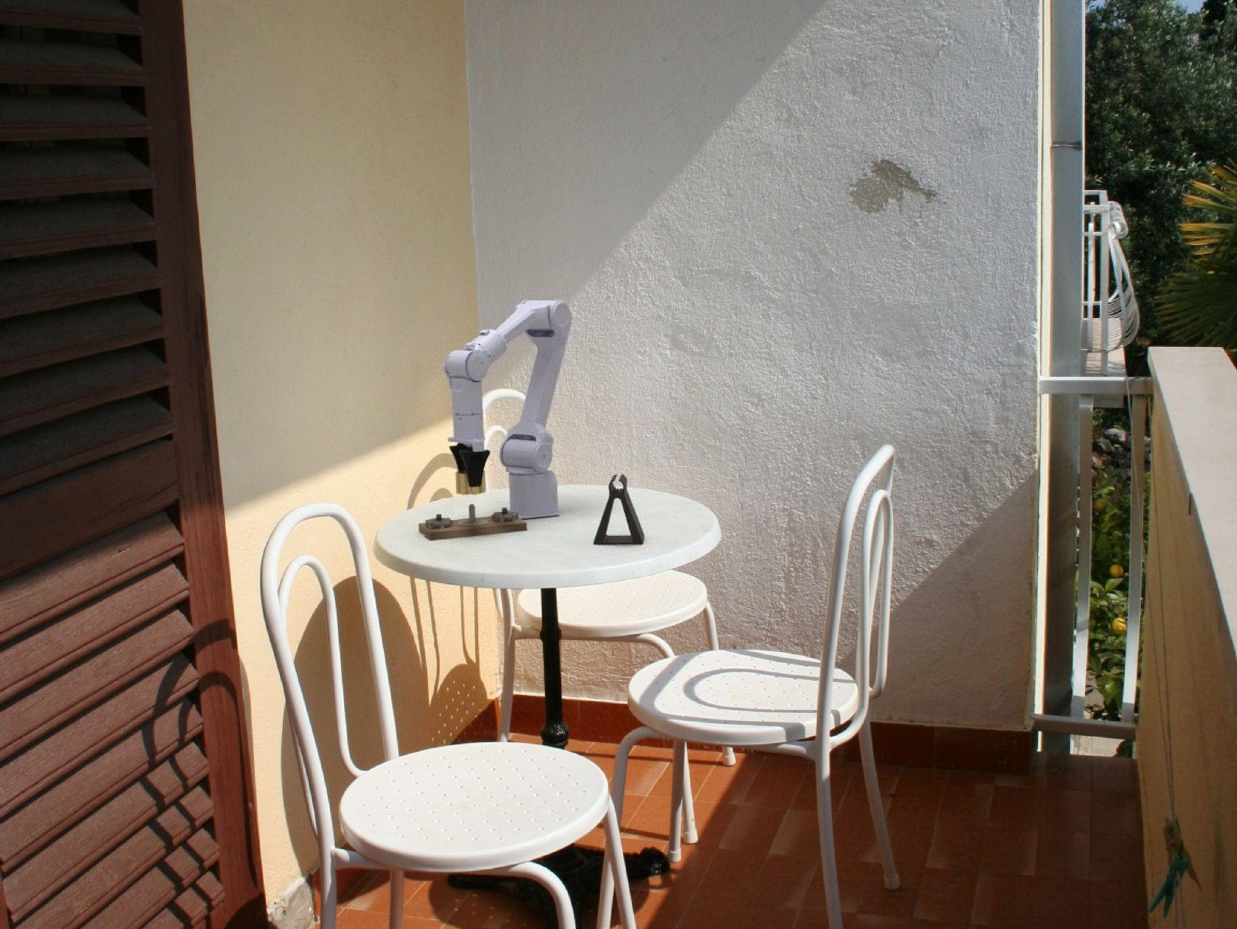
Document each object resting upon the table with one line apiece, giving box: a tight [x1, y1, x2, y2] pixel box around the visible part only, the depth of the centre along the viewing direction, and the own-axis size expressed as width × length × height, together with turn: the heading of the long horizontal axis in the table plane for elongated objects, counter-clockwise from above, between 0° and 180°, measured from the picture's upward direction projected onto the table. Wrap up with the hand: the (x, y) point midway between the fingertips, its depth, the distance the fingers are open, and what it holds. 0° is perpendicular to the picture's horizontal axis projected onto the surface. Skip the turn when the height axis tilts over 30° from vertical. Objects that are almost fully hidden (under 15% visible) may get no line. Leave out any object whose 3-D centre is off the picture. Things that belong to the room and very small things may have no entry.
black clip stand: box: [593, 473, 645, 546], centre depth 225 cm, size 9×6×12 cm, turn 85°
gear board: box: [418, 503, 528, 541], centre depth 236 cm, size 19×9×5 cm, turn 112°
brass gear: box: [454, 470, 487, 496], centre depth 235 cm, size 6×6×4 cm
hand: (470, 484), depth 235 cm, fingers closed on brass gear, 6 cm apart
